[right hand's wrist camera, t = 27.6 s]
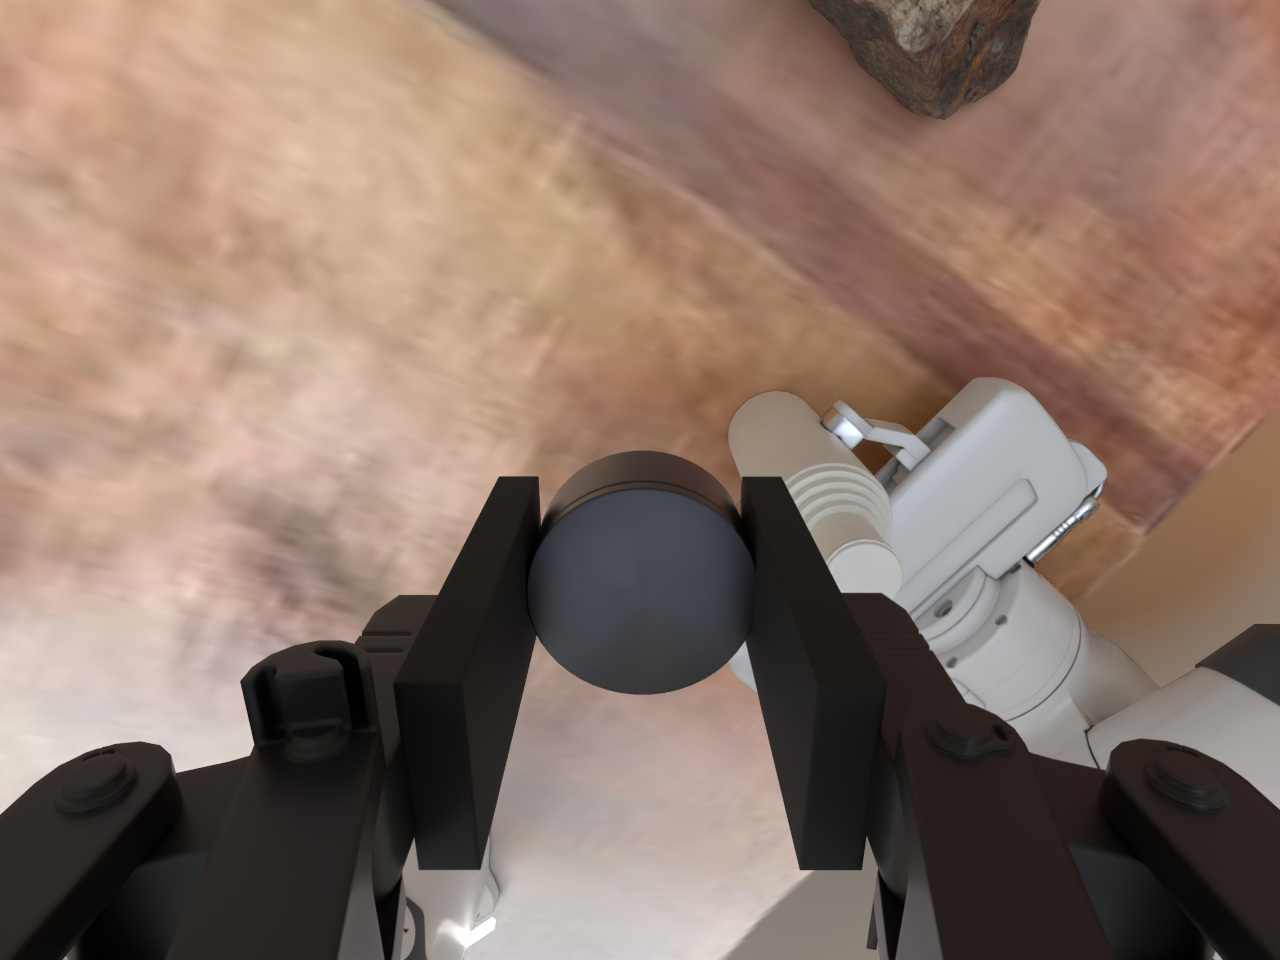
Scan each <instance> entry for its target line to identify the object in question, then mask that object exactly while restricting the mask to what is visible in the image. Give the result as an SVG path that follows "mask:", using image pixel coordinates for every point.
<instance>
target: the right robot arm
mask: <svg viewBox="0 0 1280 960" xmlns="http://www.w3.org/2000/svg"><path fill="white" fill-rule="evenodd" d="M740 517H741V520H742V523H743V526H744V529H745V532H746V535H747V538H748V541H749V545H750V548H751V551H752V554H753V557H754V560H755V563H756V577H755V593H754V609H753V624H752V629H751V631H750V633H749V634H748V636H747V638H746V640H745V642H746V646H747V650H748V655H749V659H750V663H751V667H752V671H753V676H754V680H755V684H756V688H757V692H758V696H759V701H760V705H761V709H762V713H763V717H764V722H765V726H766V730H767V734H768V738H769V743H770V747H771V751H772V755H773V759H774V763H775V768H776V772H777V776H778V780H779V784H780V789H781V793H782V797H783V801H784V805H785V810H786V814H787V818H788V822H789V826H790V830H791V835H792V839H793V843H794V847H795V851H796V856H797V860H798V864H799V868H800V870H862V864H863V857H864V850H865V843H866V836H867V837H868V840H869V843H870V846H871V848H872V851H873V854H874V857H875V860H876V862H877V865H878V873H877V880H876V887H875V893H874V900H873V907H872V913H871V920H870V927H869V934H868V941H867V949H873V950H876V949H877V943H878V948H879V957H880V960H1214V958H1213V957H1214V955H1215V952H1217V954H1218V955H1219V956H1220V957H1221V959H1222V960H1280V809H1279V808H1278V807H1276V806H1275V805H1274V804H1273V803H1272V802H1271V801H1270V800H1269V799H1268V798H1266V797H1265V796H1264V795H1263V794H1262V793H1261V792H1260V791H1259V790H1258V789H1256V788H1255V787H1254V786H1253V785H1252V784H1251V783H1250V782H1249V781H1248V780H1246V779H1245V778H1244V777H1242V776H1241V775H1239V774H1238V773H1237V772H1235V771H1234V770H1232V769H1231V768H1230V767H1228V766H1227V765H1226V764H1224V763H1222V762H1220V761H1218V760H1216V759H1214V758H1212V757H1210V756H1208V755H1206V754H1204V753H1202V752H1200V751H1198V750H1196V749H1193V748H1190V747H1187V746H1184V745H1183V746H1182V745H1179V744H1177V743H1172V742H1169V741H1163V740H1153V739H1143V738H1140V739H1135V740H1130V741H1124V742H1121V743H1120V744H1119V745H1118V746H1117V747H1115V748H1114V749H1113V750H1112V751H1111V752H1110V756H1109V760H1108V763H1107V767H1106V770H1102V769H1098V768H1093V767H1089V766H1084V765H1079V764H1075V763H1070V762H1065V761H1061V760H1056V759H1052V758H1048V757H1045V756H1041V755H1038V754H1034V753H1031V752H1029V751H1028V748H1027V746H1026V744H1025V742H1024V741H1023V740H1022V738H1021V737H1020V735H1019V734H1018V733H1017V731H1016V730H1015V728H1013V727H1012V726H1011V725H1009V724H1008V723H1007V722H1005V721H1004V720H1003V719H1001V718H1000V717H999V716H997V715H996V714H994V713H991V712H989V711H987V710H985V709H983V708H980V707H978V706H976V705H973V704H969V703H966V701H965V700H964V698H963V697H962V695H961V694H960V692H959V690H958V689H957V687H956V686H955V684H954V683H953V681H952V680H951V678H950V677H949V675H948V674H947V672H946V671H945V669H944V667H943V666H942V664H941V663H940V661H939V660H938V658H937V657H936V655H935V654H934V652H933V651H932V650H930V646H929V644H928V643H927V641H926V640H925V638H924V637H923V635H922V634H919V629H918V628H917V626H916V625H915V623H914V621H913V620H912V618H911V617H910V615H909V614H908V612H907V611H906V610H905V609H904V608H903V607H901V606H900V605H898V604H897V603H895V602H894V601H893V600H891V599H890V598H888V597H887V596H885V595H884V594H883V593H841V591H840V589H839V588H838V586H837V584H836V582H835V580H834V578H833V576H832V574H831V572H830V570H829V568H828V566H827V564H826V562H825V560H824V558H823V556H822V555H821V553H820V551H819V549H818V547H817V545H816V543H815V541H814V539H813V537H812V535H811V533H810V531H809V529H808V527H807V525H806V523H805V521H804V520H803V518H802V516H801V514H800V512H799V510H798V508H797V506H796V504H795V502H794V500H793V498H792V496H791V494H790V492H789V490H788V488H787V486H786V485H785V483H784V481H783V479H782V477H781V476H742V488H741V507H740ZM540 528H541V517H540V497H539V478H538V476H499V478H498V480H497V482H496V484H495V486H494V487H493V489H492V491H491V493H490V495H489V497H488V499H487V501H486V503H485V505H484V507H483V509H482V511H481V513H480V515H479V517H478V519H477V521H476V522H475V524H474V526H473V528H472V530H471V532H470V534H469V536H468V538H467V540H466V542H465V544H464V546H463V548H462V550H461V552H460V554H459V556H458V557H457V559H456V561H455V563H454V565H453V567H452V569H451V571H450V573H449V575H448V577H447V579H446V581H445V583H444V585H443V587H442V589H441V591H440V592H439V594H438V595H399V596H397V597H396V598H394V599H393V600H392V601H390V602H389V603H387V604H386V605H384V606H383V607H382V608H380V609H379V610H377V611H376V612H375V613H374V614H373V616H372V618H371V619H370V621H369V622H368V624H367V625H366V627H365V628H364V630H363V631H362V636H359V638H358V639H357V641H356V642H355V644H353V643H349V642H345V641H314V642H309V643H304V644H299V645H294V646H292V647H289V648H287V649H284V650H282V651H279V652H277V653H274V654H271V655H270V656H268V657H267V658H265V659H264V660H262V661H261V662H259V663H258V664H256V665H255V666H253V667H252V668H251V669H250V670H249V671H248V673H247V674H246V675H245V676H244V677H243V679H242V680H241V681H240V682H241V687H242V691H243V696H244V700H245V705H246V709H247V713H248V718H249V722H250V727H251V731H252V736H253V740H254V747H253V750H252V752H251V755H250V756H247V757H244V758H240V759H237V760H233V761H230V762H225V763H221V764H216V765H211V766H207V767H202V768H198V769H193V770H188V771H184V772H179V773H176V772H175V768H174V765H173V761H172V757H171V755H170V754H169V753H168V752H167V751H166V750H165V749H164V748H163V747H161V746H160V745H156V744H151V743H146V742H130V743H120V744H113V745H110V746H106V747H102V748H100V749H99V748H98V749H95V750H92V751H89V752H86V753H84V754H82V755H80V756H78V757H76V758H74V759H72V760H70V761H68V762H66V763H64V764H62V765H60V766H58V767H57V768H55V769H54V770H53V771H51V772H50V773H48V774H47V775H46V776H44V777H43V778H42V779H40V780H39V781H37V782H36V783H35V784H34V785H32V786H31V787H30V788H29V789H28V790H27V791H26V792H25V793H24V794H23V795H21V796H20V797H19V798H18V799H17V800H16V801H15V802H14V803H13V804H12V805H10V806H9V807H8V808H7V809H6V810H5V811H4V812H3V813H2V814H1V815H0V960H63V959H64V957H65V956H67V958H68V960H400V959H401V949H402V940H403V931H404V921H405V912H406V902H407V901H406V894H405V887H404V880H403V873H402V871H403V868H404V865H405V862H406V859H407V856H408V854H409V851H410V848H411V845H412V842H413V840H414V839H415V846H416V854H417V861H418V868H419V870H481V866H482V862H483V858H484V854H485V849H486V845H487V841H488V837H489V833H490V828H491V824H492V820H493V816H494V812H495V807H496V803H497V799H498V795H499V791H500V786H501V782H502V778H503V774H504V770H505V766H506V761H507V757H508V753H509V749H510V745H511V740H512V736H513V732H514V728H515V724H516V719H517V715H518V711H519V707H520V703H521V699H522V694H523V690H524V686H525V682H526V678H527V673H528V669H529V665H530V661H531V657H532V652H533V648H534V644H535V640H536V636H537V634H536V632H535V630H534V628H533V625H532V623H531V620H530V617H529V613H528V609H527V599H526V579H527V573H528V569H529V565H530V561H531V558H532V555H533V551H534V548H535V545H536V542H537V538H538V535H539V532H540Z"/></svg>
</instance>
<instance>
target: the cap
mask: <svg viewBox="0 0 1280 960" xmlns="http://www.w3.org/2000/svg"><path fill="white" fill-rule="evenodd" d="M755 577H756V563H755V560H754V557H753V554H752V551H751V548H750V545H749V541H748V538H747V535H746V532H745V529H744V526H743V523H742V520H741V517H740V514H739V512H738V509H737V507H736V505H735V503H734V501H733V500H732V498H731V496H730V495H729V493H728V492H727V491H726V489H725V488H724V487H723V486H722V484H721V483H720V482H718V481H717V480H716V479H715V478H714V477H713V476H712V475H711V474H710V473H708V472H707V471H705V470H704V469H703V468H701V467H700V466H698V465H696V464H694V463H692V462H690V461H688V460H686V459H683V458H681V457H678V456H675V455H671V454H667V453H663V452H655V451H630V452H622V453H618V454H614V455H610V456H607V457H604V458H602V459H599V460H597V461H594V462H593V463H591V464H589V465H587V466H585V467H584V468H582V469H581V470H579V471H578V472H577V473H575V474H574V475H573V476H571V477H570V478H569V479H568V480H567V481H566V482H565V483H564V484H563V485H562V487H561V488H560V489H559V490H558V492H557V493H556V494H555V496H554V497H553V499H552V501H551V503H550V504H549V506H548V508H547V511H546V513H545V516H544V519H543V522H542V525H541V528H540V532H539V535H538V538H537V542H536V545H535V548H534V551H533V555H532V558H531V561H530V565H529V569H528V573H527V579H526V599H527V609H528V613H529V617H530V620H531V623H532V625H533V628H534V630H535V632H536V634H537V636H538V638H539V640H540V642H541V643H542V644H543V646H544V647H545V648H546V650H547V651H548V653H549V654H550V655H551V656H552V657H553V658H554V659H555V660H556V661H557V662H558V663H559V664H560V665H561V666H563V667H564V668H565V669H566V670H568V671H569V672H570V673H572V674H574V675H575V676H577V677H578V678H580V679H582V680H584V681H586V682H588V683H590V684H592V685H595V686H598V687H600V688H603V689H606V690H610V691H615V692H619V693H627V694H658V693H666V692H670V691H675V690H679V689H682V688H685V687H688V686H690V685H693V684H695V683H697V682H699V681H701V680H703V679H705V678H707V677H708V676H710V675H711V674H713V673H715V672H716V671H717V670H719V669H720V668H721V667H722V666H724V665H725V664H726V663H727V662H728V661H729V660H730V659H731V658H732V657H733V656H734V655H735V654H736V653H737V651H738V650H739V649H740V647H741V646H742V645H743V643H744V642H745V640H746V638H747V636H748V634H749V633H750V631H751V629H752V624H753V609H754V593H755Z"/></svg>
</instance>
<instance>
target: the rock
mask: <svg viewBox="0 0 1280 960" xmlns="http://www.w3.org/2000/svg"><path fill="white" fill-rule="evenodd" d="M808 1H809V2H810V4H811V6H812V7H813V8H815V9H816V10H818V11H820V12H821V13H822V14H823V15H824V16H825V17H826V19H827V20H828V21H829V22H832V24H833V25H834V26H835V27H836V28H837V29H838V30H839V31H840V33H841V35H842V36H844V37H845V38H846V39H847V40H848V41H850V46H851V50H852V51H853V52H854V55H855V58H856V60H857V61H858V63H859V65H860V66H861V67H862V68H863V69H864V70H866V71H867V72H868V73H869V74H870V75H871V76H873V77H874V78H875V79H877V80H878V81H879V82H880V83H881V84H882V85H883V86H884V87H886V88H887V89H888V90H889V91H891V92H892V93H893V94H894V95H895V96H896V97H897V100H898V101H899V102H900V103H902V104H903V105H904V106H905V107H906V108H907V109H908V110H910V111H911V112H914V113H917V114H923V115H927V116H933V117H934V118H936V119H943V120H945V119H946V118H947V117H949V116H950V115H951V114H953V113H954V112H956V111H957V109H958V107H959V106H960V105H961V104H962V103H967V102H976V101H978V100H979V99H980V98H982V97H983V96H985V95H987V94H988V93H990V92H992V91H993V90H995V89H996V88H997V87H998V86H1000V85H1001V84H1002V83H1003V82H1005V81H1006V80H1007V79H1008V78H1009V77H1010V76H1011V75H1012V73H1013V72H1014V71H1015V70H1016V68H1017V65H1018V62H1019V59H1020V56H1021V52H1022V48H1023V45H1024V41H1025V40H1026V38H1027V36H1028V30H1029V28H1030V25H1031V18H1032V16H1033V15H1034V13H1035V11H1036V9H1037V7H1038V5H1039V3H1040V1H1041V0H808Z"/></svg>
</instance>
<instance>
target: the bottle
mask: <svg viewBox="0 0 1280 960" xmlns="http://www.w3.org/2000/svg"><path fill="white" fill-rule="evenodd" d="M819 419H820V417H819V416H818V414H817V413H816V412H815V411H814V410H813V409H812V408H811V407H810V406H809V405H808V404H807V403H806V402H805V401H804V400H803V399H801V398H800V397H798V396H796V395H794V394H791V393H788V392H783V391H770V392H765V393H761V394H759V395H756V396H754V397H752V398H751V399H749V400H748V401H746V402H745V403H744V404H743V405H742V406H741V407H740V408H739V409H738V410H737V412H736V413H735V415H734V417H733V419H732V421H731V424H730V427H729V432H728V443H729V448H730V451H731V454H732V456H733V459H734V461H735V464H736V467H737V469H738V472H739V474H740V477H741V479H742V476H781V477H782V479H783V481H784V483H785V485H786V486H787V488H788V490H789V492H790V494H791V496H792V498H793V500H794V502H795V504H796V506H797V508H798V510H799V512H800V514H801V516H802V518H803V520H804V521H805V523H806V525H807V527H808V529H809V531H810V533H811V535H812V537H813V539H814V541H815V543H816V545H817V547H818V549H819V551H820V553H821V555H822V556H823V558H824V560H825V562H826V564H827V566H828V568H829V570H830V572H831V574H832V576H833V578H834V580H835V582H836V584H837V586H838V588H839V589H840V591H841V593H883V594H884V595H885V596H887V597H888V598H890V599H891V600H893V599H894V598H895V597H896V595H897V594H898V592H899V590H900V587H901V584H902V579H903V565H902V563H901V560H900V557H899V556H898V554H897V553H896V552H895V551H894V549H893V548H892V547H891V545H890V544H889V542H890V539H891V536H892V531H893V513H892V507H891V503H890V499H889V497H888V495H887V492H886V491H885V489H884V487H883V486H882V485H881V483H880V482H879V481H878V480H877V479H876V478H875V477H874V476H873V474H872V473H871V472H870V471H869V470H868V469H867V468H866V467H865V466H864V465H863V464H862V462H861V461H860V460H859V459H858V458H857V457H856V456H855V455H854V454H853V453H852V452H851V450H850V449H849V448H848V447H847V446H846V445H845V444H844V443H843V442H842V441H841V440H840V438H839V437H838V436H836V435H834V434H833V433H831V432H830V431H829V430H828V429H827V428H826V427H825V426H824V425H823V423H822V422H820V420H819Z"/></svg>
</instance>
